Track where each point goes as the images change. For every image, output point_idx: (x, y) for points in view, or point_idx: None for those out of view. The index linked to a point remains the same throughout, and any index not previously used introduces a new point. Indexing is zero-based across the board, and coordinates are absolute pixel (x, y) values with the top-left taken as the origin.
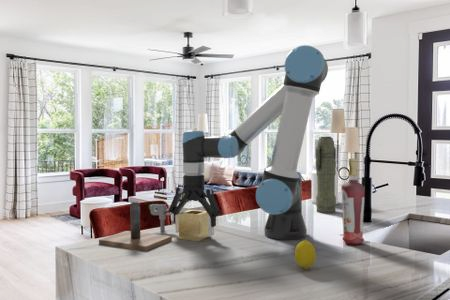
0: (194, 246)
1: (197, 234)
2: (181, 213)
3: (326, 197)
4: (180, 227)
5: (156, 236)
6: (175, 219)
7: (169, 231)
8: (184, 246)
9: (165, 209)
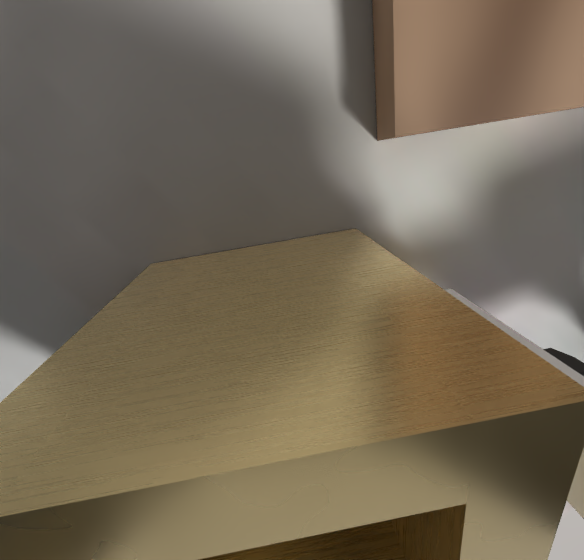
0: (22, 92)
1: (137, 285)
2: (512, 441)
3: None
4: (376, 265)
5: (555, 17)
6: (568, 367)
7: None
8: (103, 21)
9: None
